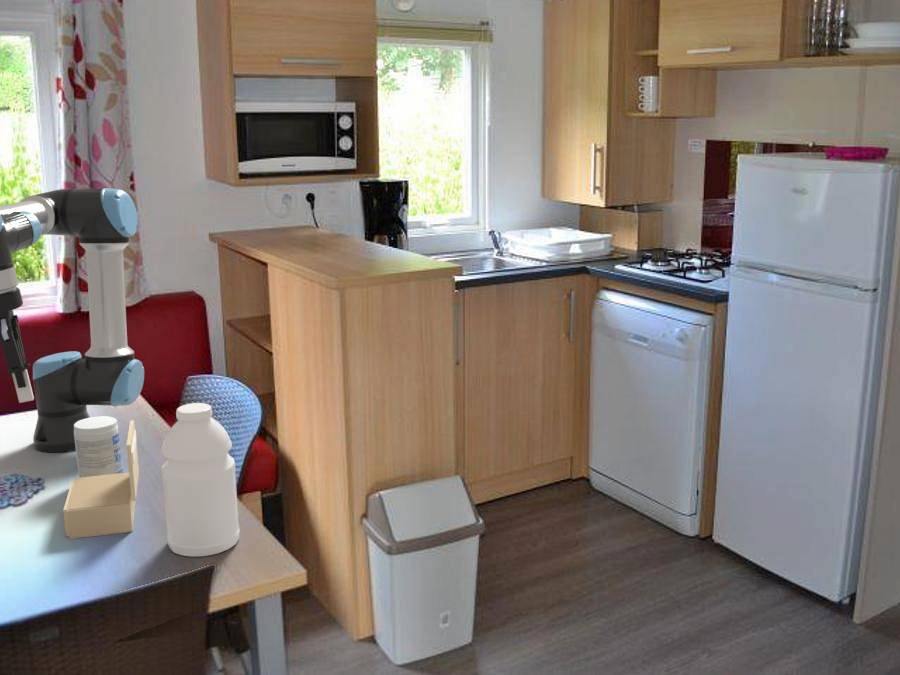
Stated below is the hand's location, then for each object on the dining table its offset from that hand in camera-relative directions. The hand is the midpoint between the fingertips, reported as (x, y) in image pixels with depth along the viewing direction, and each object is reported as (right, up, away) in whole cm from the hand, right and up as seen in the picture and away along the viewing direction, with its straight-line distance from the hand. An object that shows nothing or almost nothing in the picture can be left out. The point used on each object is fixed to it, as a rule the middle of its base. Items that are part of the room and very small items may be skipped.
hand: (26, 400), depth 195 cm
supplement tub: (+7, -21, +23) cm, 31 cm away
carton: (+15, -25, +4) cm, 29 cm away
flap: (+21, -19, +5) cm, 28 cm away
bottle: (+39, -28, -7) cm, 48 cm away
